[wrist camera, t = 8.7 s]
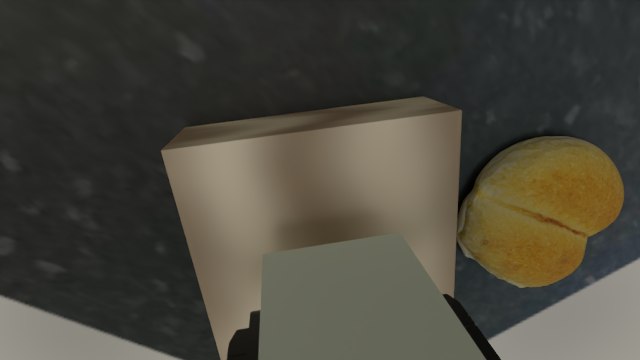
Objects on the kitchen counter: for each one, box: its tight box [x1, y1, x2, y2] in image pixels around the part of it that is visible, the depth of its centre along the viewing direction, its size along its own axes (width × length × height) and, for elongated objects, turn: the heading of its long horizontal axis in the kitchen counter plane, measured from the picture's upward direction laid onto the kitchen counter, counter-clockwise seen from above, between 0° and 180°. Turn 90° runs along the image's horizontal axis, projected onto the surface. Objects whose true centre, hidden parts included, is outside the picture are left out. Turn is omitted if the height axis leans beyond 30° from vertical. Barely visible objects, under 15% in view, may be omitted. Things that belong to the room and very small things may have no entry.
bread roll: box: [456, 136, 624, 288], centre depth 20 cm, size 8×9×4 cm
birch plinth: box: [161, 96, 462, 360], centre depth 18 cm, size 12×12×4 cm
